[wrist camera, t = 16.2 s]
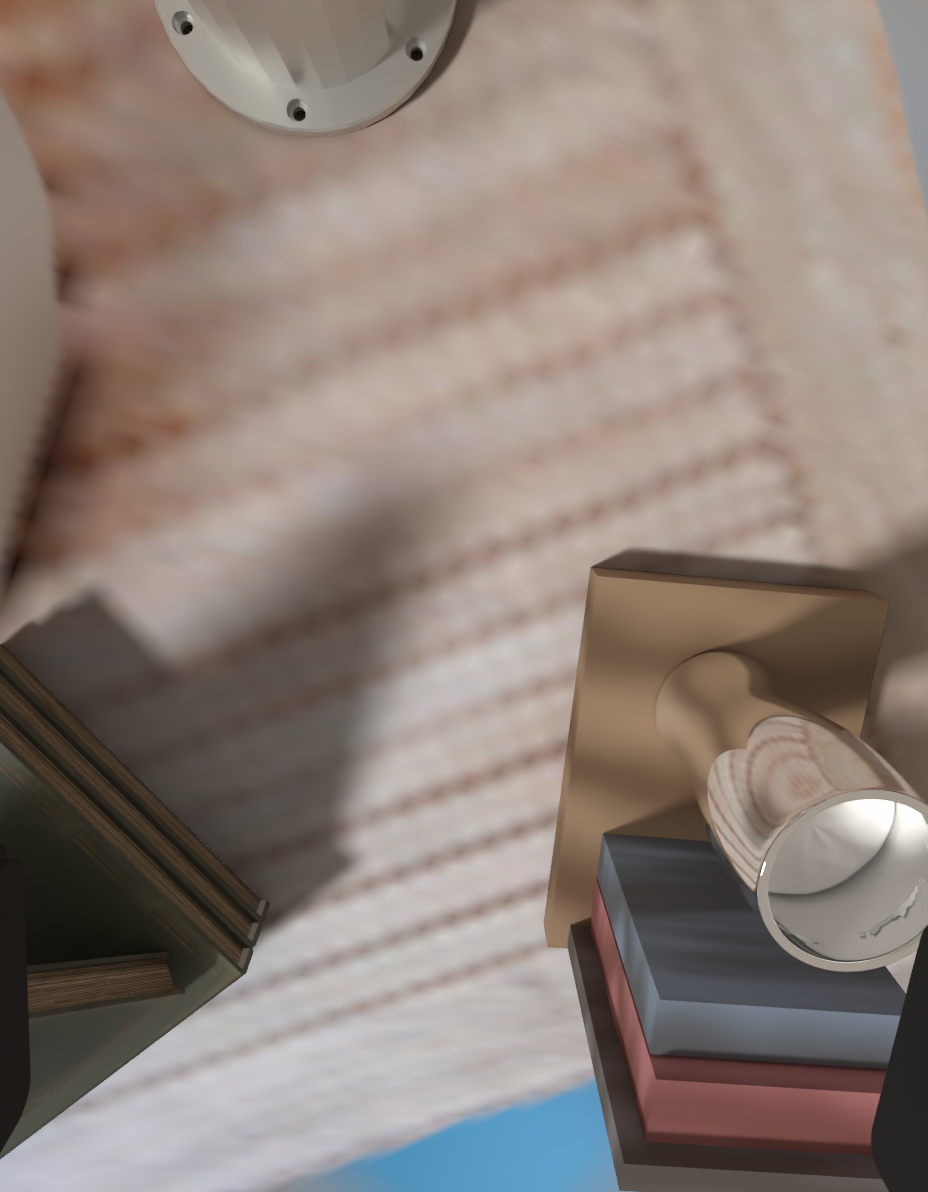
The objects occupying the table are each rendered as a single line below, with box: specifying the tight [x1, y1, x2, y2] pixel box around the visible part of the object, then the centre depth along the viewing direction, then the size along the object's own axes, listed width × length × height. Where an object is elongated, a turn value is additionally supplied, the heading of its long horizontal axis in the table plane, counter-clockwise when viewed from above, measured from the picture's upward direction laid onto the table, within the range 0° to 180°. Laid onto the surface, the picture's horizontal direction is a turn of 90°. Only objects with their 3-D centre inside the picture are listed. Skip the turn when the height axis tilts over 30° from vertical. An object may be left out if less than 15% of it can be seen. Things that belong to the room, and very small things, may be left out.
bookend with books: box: [544, 567, 906, 1192], centre depth 37 cm, size 20×14×16 cm
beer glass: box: [655, 651, 928, 972], centre depth 34 cm, size 7×7×15 cm
